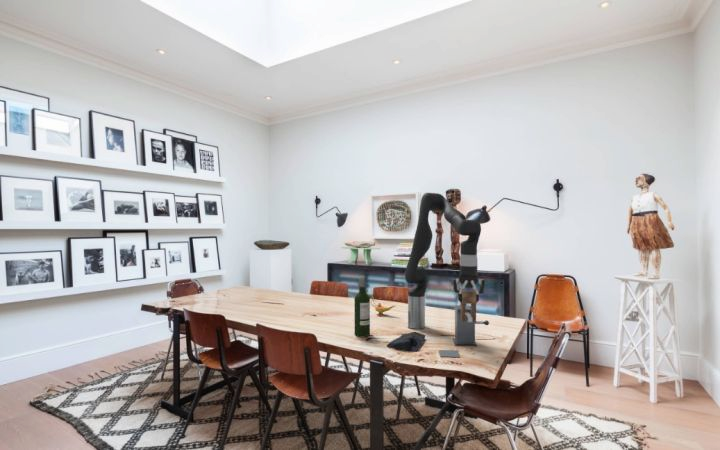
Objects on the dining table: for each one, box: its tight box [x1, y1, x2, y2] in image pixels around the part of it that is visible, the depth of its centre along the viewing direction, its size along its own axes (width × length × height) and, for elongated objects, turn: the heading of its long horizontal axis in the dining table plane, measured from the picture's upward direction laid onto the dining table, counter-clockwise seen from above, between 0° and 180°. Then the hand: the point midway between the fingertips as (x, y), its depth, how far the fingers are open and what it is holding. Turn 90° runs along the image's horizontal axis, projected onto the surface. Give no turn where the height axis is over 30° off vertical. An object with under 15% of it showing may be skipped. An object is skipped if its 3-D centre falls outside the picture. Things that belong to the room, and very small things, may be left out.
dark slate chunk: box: [386, 331, 426, 352], centre depth 175 cm, size 15×22×5 cm
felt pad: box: [438, 349, 461, 359], centre depth 160 cm, size 8×8×1 cm
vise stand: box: [452, 304, 490, 347], centre depth 169 cm, size 16×19×17 cm
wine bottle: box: [354, 275, 371, 338], centre depth 189 cm, size 8×8×30 cm
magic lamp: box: [370, 295, 396, 317], centre depth 229 cm, size 7×18×11 cm, turn 57°
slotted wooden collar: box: [460, 290, 477, 322], centre depth 164 cm, size 6×4×13 cm, turn 83°
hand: (468, 302), depth 164 cm, fingers closed on slotted wooden collar, 6 cm apart
